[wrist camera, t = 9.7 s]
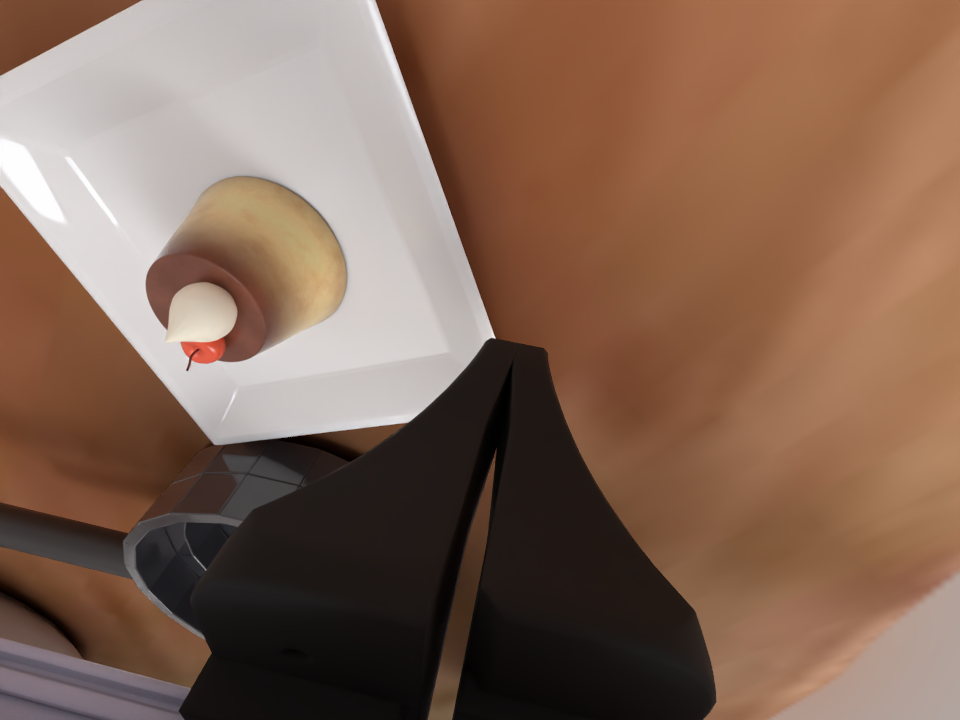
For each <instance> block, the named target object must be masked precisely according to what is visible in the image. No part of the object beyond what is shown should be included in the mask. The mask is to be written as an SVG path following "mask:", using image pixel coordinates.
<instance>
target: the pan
mask: <svg viewBox="0 0 960 720" xmlns="http://www.w3.org/2000/svg"><path fill="white" fill-rule="evenodd" d="M348 463H350V462H349V461H347V460H344V459H342V458H340V457H337V456H335V455H333V454H331V453H328V452H326V451H324V450H321V449H318V448H313V447H309V446H304V445H300V444H295V443H291V442H286V441H281V440H277V439H266V440H258V441H250V442H242V443H233V444H225V445H214V446H211V447H209V448H206V449H203V450H201V451H199V452H198V453H197V454H196V455H195V456H194V457H193V458H192V459H191V461H190V462H189V463H188V464H187V465H186V466H185V468H184V469H183V470H182V471H181V472H180V474H179V475H178V476H177V477H176V478H175V479H174V481H173V482H172V483H171V484H170V485H169V486H168V488H167V489H166V490H165V491H164V492H163V493H162V495H161V496H160V497H159V498H158V499H157V500H156V502H155V503H154V504H153V505H152V506H151V507H150V509H149V510H148V511H147V512H146V513H145V514H144V516H143V517H142V518H141V519H140V520H139V521H138V523H137V524H136V525H135V526H134V527H133V529H132V530H131V531H130V532H129V533H128V534H127V536H126V537H125V538H124V539H123V556H124V565H125V567H126V568H127V570H128V572H129V573H130V575H131V576H132V578H133V580H134V582H135V583H136V585H137V587H138V588H139V589H140V591H142V592H143V593H144V594H145V595H146V596H147V597H148V598H149V599H150V600H151V601H152V602H153V603H154V604H155V605H156V606H157V607H158V608H159V609H160V610H161V611H162V612H163V613H165V614H166V615H167V616H169V617H170V618H172V619H173V620H175V621H176V622H178V623H179V624H181V625H182V626H184V627H185V628H187V629H188V630H189V631H191V632H192V633H194V634H195V635H198V636H199V637H201V638H203V639H204V640H205V638H204V636H203V634H202V632H201V630H200V628H199V626H198V624H197V622H196V620H195V618H194V615H193V611H192V607H191V603H190V597H191V595H192V592H193V589H194V588H195V586H196V585H197V583H198V582H199V580H200V579H201V577H202V576H203V574H204V573H205V571H206V570H207V568H208V567H209V565H210V564H211V562H212V561H213V559H214V558H215V556H216V555H217V553H218V552H219V550H220V549H221V547H222V546H223V545H224V543H225V542H226V541H227V539H228V538H229V537H230V536H231V535H232V533H233V532H234V531H235V530H236V529H237V528H238V526H239V525H240V524H241V523H242V522H243V520H244V519H245V518H246V517H247V516H248V515H249V513H250V512H251V511H252V510H253V509H254V508H257V507H259V506H262V505H264V504H267V503H269V502H271V501H273V500H276V499H278V498H280V497H282V496H285V495H287V494H289V493H291V492H294V491H296V490H298V489H300V488H303V487H305V486H307V485H309V484H311V483H313V482H315V481H317V480H319V479H321V478H322V477H324V476H326V475H328V474H330V473H331V472H333V471H335V470H337V469H339V468H340V467H342V466H344V465H346V464H348Z"/></svg>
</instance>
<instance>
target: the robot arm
mask: <svg viewBox="0 0 960 720" xmlns="http://www.w3.org/2000/svg"><path fill="white" fill-rule="evenodd" d="M496 448H497V452H496V461H495V471H494V481H493V490H492V500H491V510H490V520H489V530H488V537H487V544H486V550H485V556H484V561H483V566H482V571H481V576H480V581H479V586H478V591H477V596H476V601H475V607H474V612H473V617H472V622H471V627H470V632H469V637H468V642H467V647H466V652H465V658H464V663H463V668H462V673H461V678H460V683H459V688H458V693H457V698H456V703H455V708H454V713H453V719H452V720H703V719H704V718H705V717H706V716H707V715H708V714H709V713H710V711H711V710H712V708H713V706H714V705H715V703H716V689H715V682H714V675H713V670H712V666H711V661H710V657H709V654H708V651H707V647H706V644H705V640H704V637H703V634H702V631H701V628H700V624H699V621H698V618H697V615H696V612H695V611H694V609H693V608H692V607H691V606H690V605H689V604H688V603H687V601H686V600H685V599H684V598H683V597H682V596H681V595H680V594H679V593H678V591H677V590H676V589H675V588H674V587H673V586H672V585H671V584H670V583H669V581H668V580H667V579H666V578H665V577H664V576H663V575H662V574H661V573H660V571H659V570H658V569H657V568H656V567H655V566H654V565H653V563H652V562H651V561H650V559H649V558H648V557H647V556H646V554H645V553H644V552H643V551H642V549H641V548H640V547H639V545H638V544H637V543H636V542H635V540H634V539H633V538H632V536H631V535H630V533H629V532H628V530H627V529H626V528H625V526H624V525H623V523H622V522H621V520H620V519H619V517H618V516H617V515H616V513H615V512H614V510H613V509H612V507H611V506H610V505H609V503H608V502H607V500H606V498H605V497H604V495H603V493H602V492H601V490H600V488H599V487H598V485H597V483H596V482H595V480H594V478H593V477H592V475H591V473H590V471H589V469H588V467H587V466H586V464H585V462H584V460H583V458H582V456H581V454H580V452H579V450H578V448H577V446H576V444H575V441H574V439H573V437H572V434H571V432H570V430H569V428H568V425H567V423H566V420H565V418H564V415H563V412H562V409H561V406H560V404H559V401H558V398H557V395H556V392H555V388H554V385H553V381H552V377H551V373H550V368H549V363H548V353H547V352H546V350H545V349H544V348H540V347H535V346H530V345H525V344H520V343H515V342H510V341H504V340H499V339H494V338H490V339H488V340H486V341H485V343H484V344H483V346H482V348H481V349H480V350H479V352H478V353H477V355H476V356H475V357H474V358H473V360H472V361H471V362H470V363H469V365H468V366H467V367H466V368H465V369H464V370H463V371H462V373H461V374H460V375H459V376H458V377H457V378H456V379H455V380H454V381H453V382H452V383H451V384H450V386H449V387H448V388H447V389H446V390H445V391H444V392H442V393H441V394H440V395H439V396H438V397H437V398H436V399H435V400H434V401H433V402H432V403H431V404H430V405H429V406H427V407H426V408H425V409H424V410H423V411H422V412H421V413H420V414H418V415H417V416H416V417H415V418H414V419H412V420H411V421H410V422H409V423H407V424H406V425H405V426H403V427H402V428H401V429H399V430H398V431H397V432H396V433H394V434H393V435H391V436H390V437H388V438H387V439H386V440H384V441H383V442H381V443H380V444H378V445H377V446H375V447H374V448H372V449H371V450H369V451H368V452H366V453H365V454H363V455H361V456H360V457H358V458H356V459H355V460H353V461H351V462H350V463H348V464H346V465H344V466H342V467H340V468H339V469H337V470H335V471H333V472H331V473H330V474H328V475H326V476H324V477H322V478H321V479H319V480H317V481H315V482H313V483H311V484H309V485H307V486H305V487H303V488H300V489H298V490H296V491H294V492H291V493H289V494H287V495H285V496H282V497H280V498H278V499H276V500H273V501H271V502H269V503H267V504H264V505H262V506H259V507H257V508H254V509H253V510H252V511H251V512H250V513H249V515H248V516H247V517H246V518H245V519H244V520H243V522H242V523H241V524H240V525H239V526H238V528H237V529H236V530H235V531H234V532H233V533H232V535H231V536H230V537H229V538H228V539H227V541H226V542H225V543H224V545H223V546H222V547H221V549H220V550H219V552H218V553H217V555H216V556H215V558H214V559H213V561H212V562H211V564H210V565H209V567H208V568H207V570H206V571H205V573H204V574H203V576H202V577H201V579H200V580H199V582H198V583H197V585H196V586H195V588H194V589H193V592H192V595H191V597H190V603H191V607H192V611H193V615H194V618H195V620H196V622H197V624H198V626H199V628H200V630H201V632H202V634H203V636H204V638H205V640H206V642H207V644H208V646H209V648H210V650H211V652H212V654H211V655H210V657H209V659H208V660H207V662H206V664H205V666H204V667H203V669H202V671H201V673H200V674H199V676H198V678H197V680H196V681H195V683H194V685H193V686H192V688H188V687H184V686H180V685H177V684H173V683H169V682H165V681H162V680H158V679H154V678H150V677H147V676H143V675H139V674H135V673H131V672H128V671H124V670H120V669H116V668H113V667H109V666H105V665H101V664H98V663H94V662H90V661H86V660H82V659H79V658H75V657H71V656H67V655H64V654H60V653H56V652H52V651H49V650H45V649H41V648H37V647H33V646H30V645H26V644H22V643H18V642H15V641H11V640H7V639H3V638H0V720H428V715H429V711H430V706H431V702H432V697H433V692H434V688H435V683H436V678H437V674H438V669H439V665H440V660H441V655H442V651H443V646H444V642H445V637H446V633H447V628H448V624H449V619H450V614H451V610H452V605H453V601H454V596H455V592H456V587H457V583H458V578H459V574H460V569H461V565H462V560H463V556H464V551H465V547H466V543H467V539H468V536H469V532H470V529H471V525H472V522H473V519H474V516H475V513H476V510H477V507H478V504H479V501H480V498H481V495H482V491H483V488H484V485H485V482H486V479H487V476H488V473H489V470H490V467H491V464H492V461H493V457H494V454H495V451H496Z"/></svg>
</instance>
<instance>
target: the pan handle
mask: <svg viewBox="0 0 960 720" xmlns="http://www.w3.org/2000/svg"><path fill="white" fill-rule="evenodd" d="M127 534H128V533H125V532H121V531H116V530H112V529H108V528H104V527H100V526H96V525H92V524H87V523H83V522H79V521H75V520H71V519H67V518H62V517H58V516H54V515H50V514H46V513H42V512H38V511H33V510H29V509H25V508H21V507H17V506H13V505H8V504H4V503H0V546H1V547H5V548H9V549H13V550H17V551H21V552H25V553H29V554H33V555H37V556H41V557H45V558H49V559H53V560H57V561H61V562H65V563H69V564H73V565H77V566H81V567H85V568H89V569H93V570H98V571H102V572H106V573H110V574H114V575H118V576H122V577H126V578H130V579H133V578H132V576H131V575H130V573H129V572H128V570H127V568H126V567H125V565H124V556H123V539H124V538H125V537H126V536H127Z"/></svg>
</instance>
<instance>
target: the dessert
mask: <svg viewBox="0 0 960 720" xmlns="http://www.w3.org/2000/svg"><path fill="white" fill-rule="evenodd" d="M0 186H1V187H2V188H3V190H4V191H5V192H6V193H7V194H8V196H9V197H10V198H11V199H12V201H13V202H14V203H15V204H16V205H17V207H18V208H19V209H20V210H21V211H22V213H23V214H24V215H25V216H26V218H27V219H28V220H29V221H30V222H31V224H32V225H33V226H34V227H35V228H36V230H37V231H38V232H39V233H40V234H41V236H42V237H43V238H44V239H45V241H46V242H47V243H48V244H49V245H50V247H51V248H52V249H53V250H54V251H55V253H56V254H57V255H58V256H59V257H60V259H61V260H62V261H63V262H64V264H65V265H66V266H67V267H68V268H69V270H70V271H71V272H72V273H73V274H74V276H75V277H76V278H77V279H78V280H79V282H80V283H81V284H82V285H83V287H84V288H85V289H86V290H87V291H88V293H89V294H90V295H91V296H92V297H93V299H94V300H95V301H96V302H97V304H98V305H99V306H100V307H101V308H102V310H103V311H104V312H105V313H106V314H107V316H108V317H109V318H110V319H111V320H112V322H113V323H114V324H115V325H116V327H117V328H118V329H119V330H120V331H121V333H122V334H123V335H124V336H125V337H126V339H127V340H128V341H129V342H130V343H131V345H132V346H133V347H134V348H135V350H136V351H137V352H138V353H139V354H140V356H141V357H142V358H143V359H144V360H145V362H146V363H147V364H148V365H149V366H150V368H151V369H152V370H153V371H154V373H155V374H156V375H157V376H158V377H159V379H160V380H161V381H162V382H163V383H164V385H165V386H166V387H167V388H168V389H169V391H170V392H171V393H172V394H173V396H174V397H175V398H176V399H177V400H178V402H179V403H180V404H181V405H182V406H183V408H184V409H185V410H186V411H187V413H188V414H189V415H190V416H191V417H192V419H193V420H194V421H195V422H196V423H197V425H198V426H199V427H200V428H201V429H202V431H203V432H204V433H205V434H206V436H207V437H208V438H209V439H210V440H211V442H212V443H213V444H214V445H225V444H233V443H242V442H250V441H258V440H266V439H275V438H283V437H291V436H300V435H308V434H316V433H324V432H333V431H341V430H349V429H358V428H366V427H374V426H382V425H391V424H399V423H407V422H410V421H411V420H412V419H414V418H415V417H416V416H417V415H418V414H420V413H421V412H422V411H423V410H424V409H425V408H426V407H427V406H429V405H430V404H431V403H432V402H433V401H434V400H435V399H436V398H437V397H438V396H439V395H440V394H441V393H442V392H444V391H445V390H446V389H447V388H448V387H449V386H450V384H451V383H452V382H453V381H454V380H455V379H456V378H457V377H458V376H459V375H460V374H461V373H462V371H463V370H464V369H465V368H466V367H467V366H468V365H469V363H470V362H471V361H472V360H473V358H474V357H475V356H476V355H477V353H478V352H479V350H480V349H481V348H482V346H483V344H484V343H485V341H486V340H488V339H490V338H494V339H495V336H494V333H493V330H492V327H491V325H490V322H489V319H488V316H487V313H486V310H485V308H484V305H483V302H482V299H481V296H480V294H479V291H478V288H477V285H476V282H475V280H474V277H473V274H472V271H471V268H470V265H469V263H468V260H467V257H466V254H465V251H464V249H463V246H462V243H461V240H460V237H459V235H458V232H457V229H456V226H455V223H454V221H453V218H452V215H451V212H450V209H449V206H448V204H447V201H446V198H445V195H444V192H443V190H442V187H441V184H440V181H439V178H438V176H437V173H436V170H435V167H434V164H433V161H432V159H431V156H430V153H429V150H428V147H427V145H426V142H425V139H424V136H423V133H422V131H421V128H420V125H419V122H418V119H417V116H416V114H415V111H414V108H413V105H412V102H411V100H410V97H409V94H408V91H407V88H406V86H405V83H404V80H403V77H402V74H401V71H400V69H399V66H398V63H397V60H396V57H395V55H394V52H393V49H392V46H391V43H390V41H389V38H388V35H387V32H386V29H385V26H384V24H383V21H382V18H381V15H380V12H379V10H378V7H377V4H376V1H375V0H142V1H140V2H138V3H136V4H135V5H133V6H131V7H129V8H127V9H125V10H123V11H121V12H120V13H118V14H116V15H114V16H112V17H110V18H108V19H106V20H105V21H103V22H101V23H99V24H97V25H95V26H93V27H91V28H89V29H88V30H86V31H84V32H82V33H80V34H78V35H76V36H74V37H73V38H71V39H69V40H67V41H65V42H63V43H61V44H59V45H58V46H56V47H54V48H52V49H50V50H48V51H46V52H44V53H43V54H41V55H39V56H37V57H35V58H33V59H31V60H29V61H27V62H26V63H24V64H22V65H20V66H18V67H16V68H14V69H12V70H11V71H9V72H7V73H5V74H3V75H1V76H0Z"/></svg>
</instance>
